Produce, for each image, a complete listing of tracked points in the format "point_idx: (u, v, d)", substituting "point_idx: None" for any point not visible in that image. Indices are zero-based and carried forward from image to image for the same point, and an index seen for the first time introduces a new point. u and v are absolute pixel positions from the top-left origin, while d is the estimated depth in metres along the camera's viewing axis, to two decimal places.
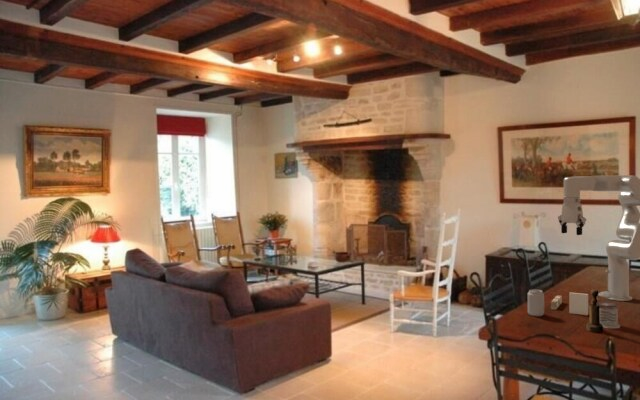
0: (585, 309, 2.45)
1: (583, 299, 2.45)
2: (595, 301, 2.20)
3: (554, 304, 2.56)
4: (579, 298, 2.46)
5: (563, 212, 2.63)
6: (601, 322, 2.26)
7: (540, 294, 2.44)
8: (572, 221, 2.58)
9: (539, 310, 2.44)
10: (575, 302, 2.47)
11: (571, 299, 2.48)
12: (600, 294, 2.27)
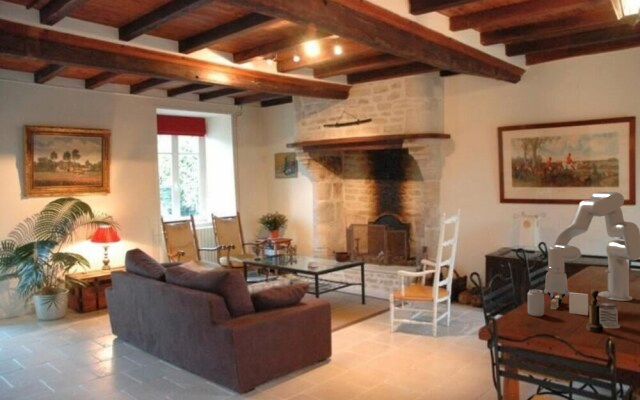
0: (585, 309, 2.45)
1: (583, 299, 2.45)
2: (595, 301, 2.20)
3: (554, 304, 2.56)
4: (579, 298, 2.46)
5: None
6: (601, 322, 2.26)
7: (540, 294, 2.44)
8: None
9: (539, 310, 2.44)
10: (575, 302, 2.47)
11: (571, 299, 2.48)
12: (600, 294, 2.27)
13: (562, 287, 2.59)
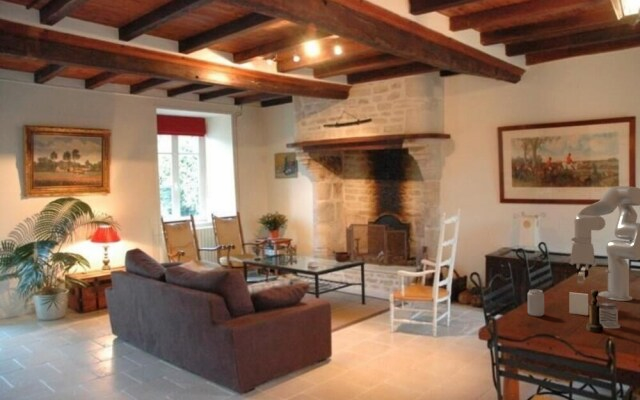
0: (585, 309, 2.45)
1: (583, 299, 2.45)
2: (595, 301, 2.20)
3: (581, 277, 2.51)
4: (579, 298, 2.46)
5: None
6: (601, 322, 2.26)
7: (540, 294, 2.44)
8: None
9: (539, 310, 2.44)
10: (575, 302, 2.47)
11: (571, 299, 2.48)
12: (600, 294, 2.27)
13: (589, 257, 2.53)
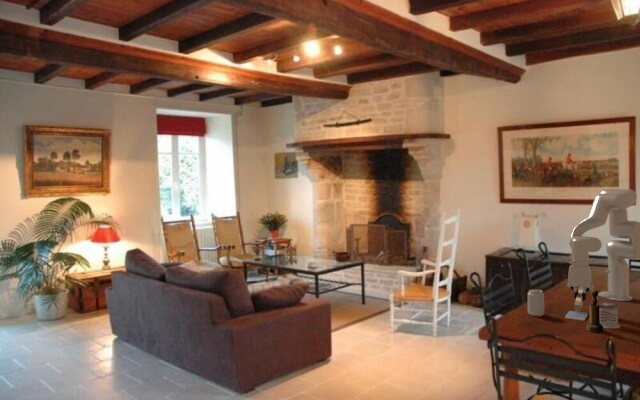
0: None
1: None
2: (595, 301, 2.20)
3: (578, 306, 2.44)
4: None
5: None
6: (601, 322, 2.26)
7: (540, 294, 2.44)
8: None
9: (539, 310, 2.44)
10: None
11: None
12: (600, 294, 2.27)
13: (586, 281, 2.46)
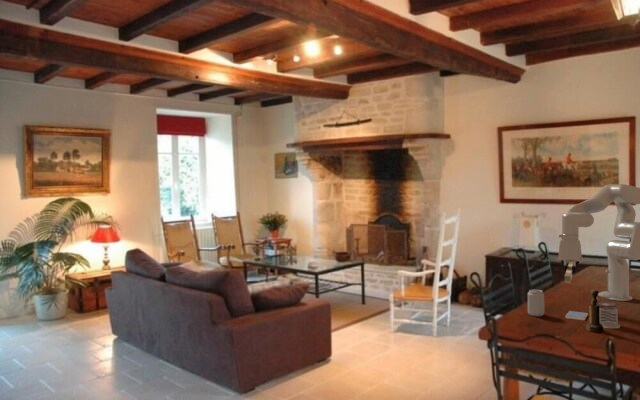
0: None
1: None
2: (595, 301, 2.20)
3: (568, 278, 2.51)
4: None
5: None
6: (601, 322, 2.26)
7: (540, 294, 2.44)
8: None
9: (539, 310, 2.44)
10: None
11: None
12: (600, 294, 2.27)
13: (576, 254, 2.54)
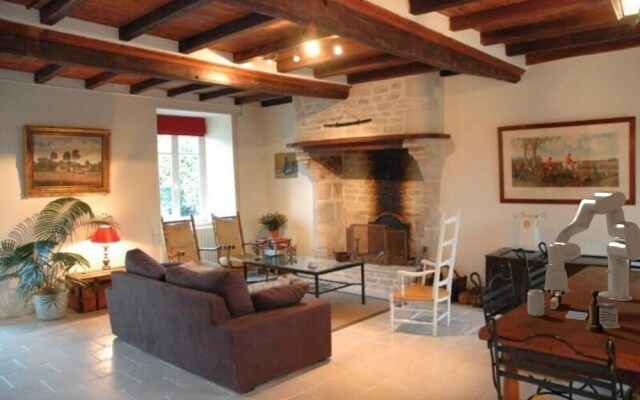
0: None
1: None
2: (595, 301, 2.20)
3: (553, 303, 2.55)
4: None
5: None
6: (601, 322, 2.26)
7: (540, 294, 2.44)
8: None
9: (539, 310, 2.44)
10: None
11: None
12: (600, 294, 2.27)
13: (562, 284, 2.58)
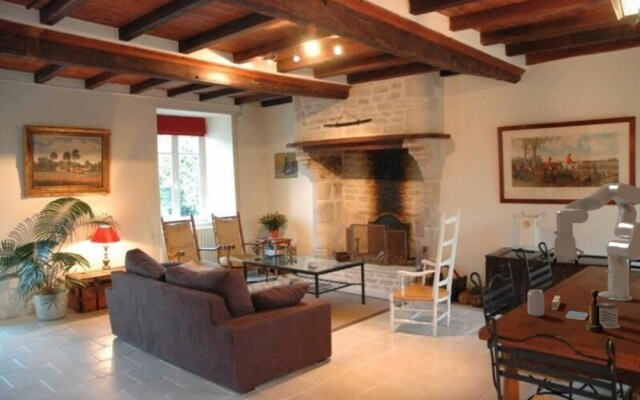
0: None
1: None
2: (595, 301, 2.20)
3: (555, 304, 2.55)
4: None
5: None
6: (601, 322, 2.26)
7: (540, 294, 2.44)
8: None
9: (539, 310, 2.44)
10: None
11: None
12: (600, 294, 2.27)
13: (571, 250, 2.57)
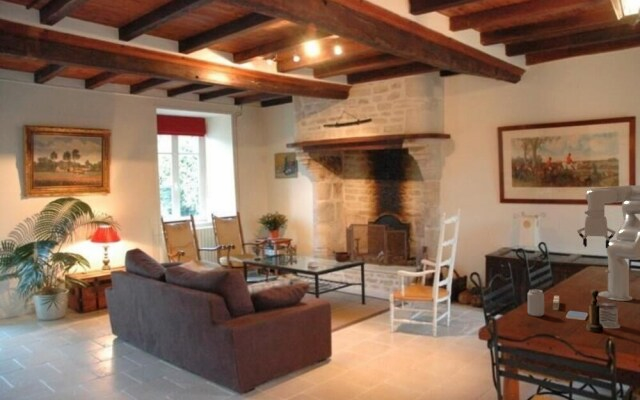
0: None
1: None
2: (595, 301, 2.20)
3: (556, 305, 2.55)
4: None
5: None
6: (601, 322, 2.26)
7: (540, 294, 2.44)
8: None
9: (539, 310, 2.44)
10: None
11: None
12: (600, 294, 2.27)
13: (602, 230, 2.56)
